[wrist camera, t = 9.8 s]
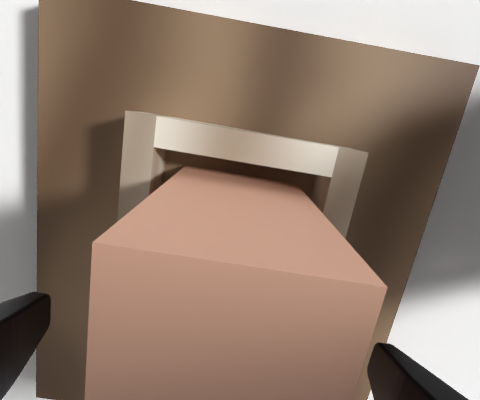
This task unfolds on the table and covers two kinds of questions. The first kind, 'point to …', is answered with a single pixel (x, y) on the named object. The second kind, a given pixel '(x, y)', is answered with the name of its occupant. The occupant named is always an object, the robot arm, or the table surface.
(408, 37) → the table surface
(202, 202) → the key block
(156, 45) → the socket board
